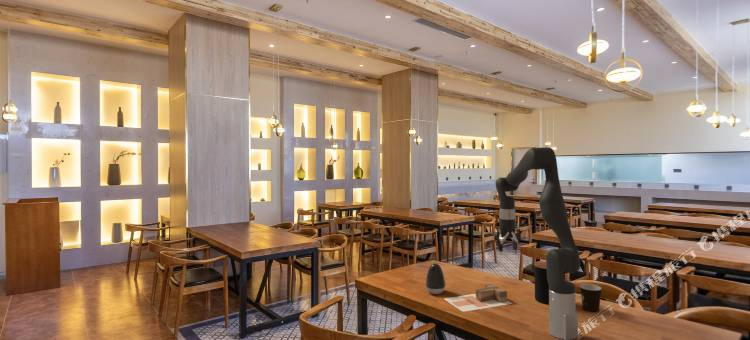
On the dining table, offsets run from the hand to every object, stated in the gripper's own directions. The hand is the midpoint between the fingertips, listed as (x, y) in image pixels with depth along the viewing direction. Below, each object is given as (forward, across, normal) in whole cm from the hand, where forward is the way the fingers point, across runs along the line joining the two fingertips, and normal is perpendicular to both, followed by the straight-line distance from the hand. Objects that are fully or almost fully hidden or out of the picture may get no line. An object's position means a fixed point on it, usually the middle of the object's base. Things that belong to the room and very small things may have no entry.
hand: (507, 250), depth 193 cm
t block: (+23, -12, 0) cm, 25 cm away
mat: (+23, -18, 0) cm, 29 cm away
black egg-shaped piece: (+23, -30, +19) cm, 43 cm away
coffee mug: (+23, +24, -26) cm, 43 cm away
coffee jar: (+23, +12, -12) cm, 29 cm away
